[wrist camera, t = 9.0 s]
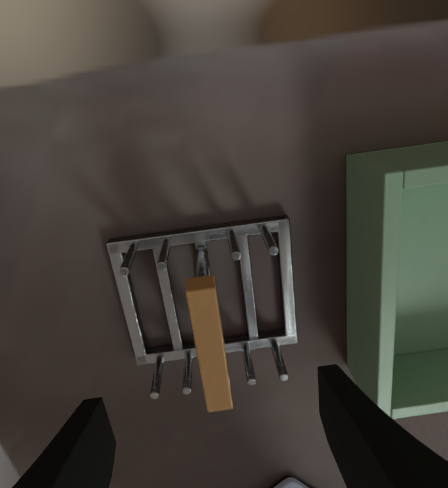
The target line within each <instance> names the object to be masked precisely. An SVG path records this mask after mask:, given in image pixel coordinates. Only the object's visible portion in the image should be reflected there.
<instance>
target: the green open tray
mask: <svg viewBox="0 0 448 488" xmlns="http://www.w3.org/2000/svg"><path fill="white" fill-rule="evenodd" d="M346 242H347V367H348V368H349V370H350V372H351V374H352V376H353V378H354V380H355V382H356V383H357V385H358V387H359V388H360V389H361V390H362V391H363V392H364V393H365V394H366V395H367V396H368V397H369V398H370V399H371V400H372V401H373V402H374V403H375V404H376V405H377V406H378V407H380V408H381V409H382V410H383V411H384V412H385V413H386V414H387V415H388V416H389V417H391V418H392V419H398V418H405V417H412V416H419V415H426V414H433V413H440V412H447V411H448V141H443V142H436V143H428V144H421V145H414V146H407V147H399V148H392V149H385V150H377V151H370V152H363V153H356V154H348V155H346Z"/></svg>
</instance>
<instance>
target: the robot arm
mask: <svg viewBox="0 0 448 488" xmlns="http://www.w3.org/2000/svg"><path fill="white" fill-rule="evenodd" d="M318 387H319V411H320V417H321V420H322V424H323V427H324V430H325V434H326V437H327V440H328V443H329V446H330V448H331V451H332V453H333V456H334V458H335V460H336V463H337V465H338V468H339V470H340V472H341V475H342V477H343V479H344V482H345V484H346V487H347V488H448V461H446V460H445V459H443V458H442V457H441V456H439V455H438V454H436V453H435V452H433V451H432V450H431V449H429V448H428V447H427V446H425V445H424V444H423V443H421V442H420V441H419V440H417V439H416V438H415V437H413V436H412V435H411V434H410V433H408V432H407V431H406V430H405V429H404V428H402V427H401V426H400V425H399V424H398V423H396V422H395V421H394V420H393V419H392V418H391V417H389V416H388V415H387V414H386V413H385V412H384V411H383V410H382V409H381V408H380V407H378V406H377V405H376V404H375V403H374V402H373V401H372V400H371V399H370V398H369V397H368V396H367V395H366V394H365V393H364V392H363V391H362V390H361V389H360V388H359V387H358V386H357V385H356V384H355V383H354V382H353V381H352V380H351V379H350V378H349V377H348V376H347V375H346V374H345V373H344V371H343V370H342V369H341V368H340V367H339V366H338V365H336V364H334V365H327V366H320V367H318ZM115 448H116V440H115V437H114V434H113V431H112V428H111V424H110V421H109V418H108V415H107V412H106V408H105V405H104V402H103V399H102V397H99V398H92V399H85V400H83V401H82V402H81V404H80V405H79V406H78V407H77V409H76V410H75V411H74V413H73V414H72V415H71V416H70V418H69V419H68V420H67V422H66V423H65V424H64V426H63V427H62V428H61V429H60V431H59V432H58V433H57V435H56V436H55V437H54V438H53V440H52V441H51V442H50V443H49V445H48V446H47V447H46V448H45V450H44V451H43V452H42V453H41V455H40V456H39V457H38V458H37V460H36V461H35V462H34V463H33V464H32V465H31V467H30V468H29V469H28V470H27V471H26V472H25V473H24V475H23V476H22V477H21V478H20V479H19V481H18V482H17V483H16V484H15V485H14V486H13V487H12V488H109V485H110V481H111V477H112V471H113V464H114V456H115ZM274 488H309V487H307V486H306V485H304V484H303V483H301V482H300V481H298V480H297V479H295V478H292V477H289V478H286V479H284V480H283V481H282V482H280V483H279V484H278V485H276V486H275V487H274Z"/></svg>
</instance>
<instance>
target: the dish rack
mask: <svg viewBox="0 0 448 488" xmlns="http://www.w3.org/2000/svg"><path fill="white" fill-rule="evenodd" d="M272 232H276V237H277V245H276V243H275V241H274V239H273V237H272V235H271V233H272ZM257 234H261V235H262V237H263V240H264V242H265V244H266V247H267V249H268V252H269V254H270V255H276V254H278V263H279V276H280V289H281V302H282V315H283V328H284V329H283V330H276V331H268V332H261V333H258V328H257V319H256V309H255V300H254V291H253V281H252V272H251V263H250V253H249V244H248V236H250V235H257ZM221 239H228V242H229V247H230V252H231V257H232V259H233V260H235V261H237V260H240V269H241V277H242V286H243V294H244V302H245V311H246V319H247V328H248V334H247V335H240V336H232V337H225V338H224V336H223V329H222V323H221V316H220V309H219V302H218V296H217V289H216V282H215V276H214V275H211V274H210V267H209V261H208V251H207V248H206V241H213V240H221ZM192 243H195V248H196V251H195V275H194V278H188V279H186V291H185V293H186V299H187V304H188V309H189V315H190V320H191V326H192V331H193V337H194V342H189V343H183V341H182V336H181V331H180V326H179V321H178V316H177V311H176V306H175V301H174V296H173V291H172V286H171V281H170V276H169V271H168V266H167V261H168V256H169V250H170V246H177V245H184V244H192ZM106 245H107V249H108V253H109V257H110V261H111V265H112V269H113V272H114V276H115V280H116V284H117V288H118V292H119V296H120V299H121V303H122V307H123V311H124V315H125V319H126V323H127V326H128V330H129V334H130V338H131V342H132V346H133V350H134V353H135V358H136V362H137V365H144V364H152V363H155V368H154V374H153V380H152V387H151V393H150V397H151V398H152V399H157V398H158V397H159V392H160V384H161V376H162V368H163V362H166V361H173V360H180V359H184V375H183V393H184V394H186V395H187V394H190V393H191V386H192V358H194V357H197V358H198V364H199V369H200V375H201V380H202V385H203V391H204V396H205V402H206V407H207V411H208V412H215V411H222V410H229V409H233V399H232V390H231V383H230V376H229V370H228V363H227V356H226V353H230V352H237V351H242V353H243V359H244V365H245V371H246V377H247V383H248V384H249V385H254V384H255V383H256V379H255V373H254V368H253V363H252V358H251V353H250V350H252V349H259V348H266V347H271V348H272V352H273V356H274V359H275V363H276V367H277V370H278V374H279V377H280V380H282V381H286V380H287V379H288V374H287V371H286V367H285V364H284V361H283V358H282V354H281V351H280V348H279V346H280V345H288V344H295V343H297V329H296V313H295V297H294V281H293V264H292V248H291V232H290V219H289V217H288V216H287V215H282V216H275V217H268V218H260V219H253V220H246V221H238V222H231V223H224V224H217V225H209V226H202V227H195V228H187V229H180V230H173V231H165V232H158V233H151V234H143V235H136V236H129V237H121V238H114V239H109V240H108V241H107V243H106ZM148 249H152V250H153V255H154V259H155V264H156V269H157V274H158V278H159V283H160V288H161V293H162V297H163V302H164V307H165V312H166V316H167V321H168V326H169V330H170V335H171V340H172V345H168V346H161V347H153V348H147V344H146V340H145V336H144V332H143V328H142V323H141V319H140V315H139V311H138V307H137V303H136V299H135V295H134V290H133V286H132V282H131V278H130V274H129V271H130V269H131V266H132V263H133V260H134V258H135V255H136V252H137V251H140V250H148ZM125 253H126V255H125Z"/></svg>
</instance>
